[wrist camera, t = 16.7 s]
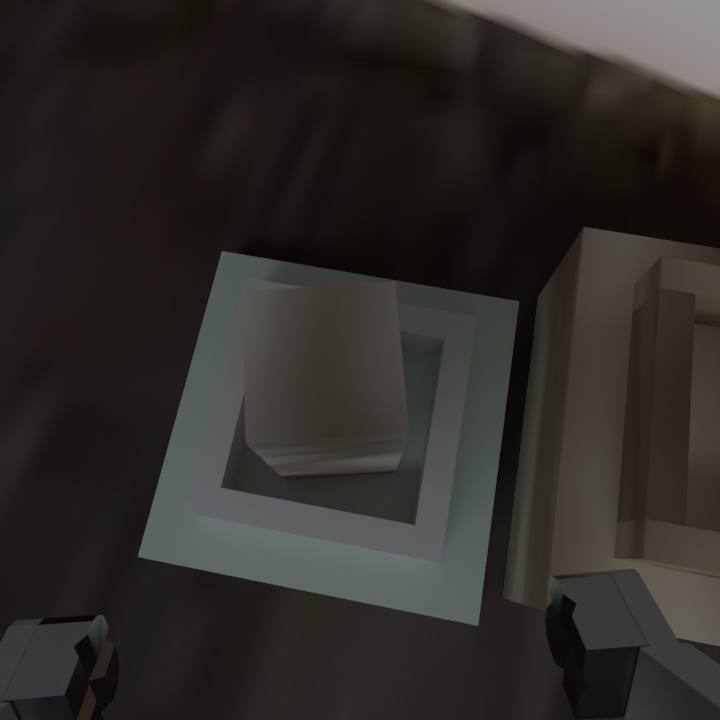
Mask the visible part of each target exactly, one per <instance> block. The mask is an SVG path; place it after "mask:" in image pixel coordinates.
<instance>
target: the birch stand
mask: <svg viewBox="0 0 720 720" xmlns="http://www.w3.org/2000/svg"><path fill="white" fill-rule="evenodd" d="M624 569H635V570H636V571H637V572H639V574H640V576H641V577H642V579H643V581H644V582H645V584H646V586H647V588H648V589H649V591H650V593H651V595H652V596H653V598H654V600H655V602H656V603H657V605H658V607H659V608H660V610H661V612H662V614H663V615H664V617H665V619H666V621H667V622H668V624H669V626H670V628H671V629H672V631H673V633H674V634H675V636H676V638H681V639H686V640H691V641H696V642H701V643H706V644H711V645H716V646H720V249H719V248H713V247H706V246H700V245H694V244H688V243H681V242H675V241H669V240H663V239H657V238H650V237H644V236H638V235H632V234H625V233H619V232H613V231H607V230H600V229H594V228H588V227H584V228H583V229H582V231H581V232H580V234H579V235H578V237H577V238H576V240H575V241H574V243H573V244H572V246H571V247H570V249H569V250H568V252H567V253H566V255H565V257H564V258H563V260H562V261H561V263H560V264H559V266H558V267H557V269H556V270H555V272H554V273H553V275H552V276H551V278H550V279H549V281H548V282H547V284H546V285H545V287H544V289H543V290H542V292H541V293H540V295H539V296H538V301H537V309H536V318H535V326H534V335H533V343H532V352H531V360H530V369H529V377H528V385H527V394H526V402H525V411H524V419H523V428H522V436H521V445H520V453H519V462H518V470H517V478H516V487H515V495H514V504H513V512H512V521H511V529H510V538H509V546H508V555H507V563H506V571H505V580H504V588H503V597H502V598H504V599H507V600H511V601H514V602H517V603H520V604H523V605H527V606H530V607H533V608H536V609H539V610H542V611H546V608H547V607H548V606H549V605H550V604H551V603H552V600H551V597H550V595H549V592H548V587H549V580H550V579H551V577H552V576H557V575H567V574H577V573H587V572H598V571H605V572H606V571H612V570H624Z"/></svg>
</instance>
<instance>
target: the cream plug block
mask: <svg viewBox="0 0 720 720" xmlns="http://www.w3.org/2000/svg"><path fill="white" fill-rule="evenodd" d="M242 296H243V345H244V393H245V441H246V445H247V446H249V447H250V448H251V449H252V450H253V451H254V452H255V453H256V454H257V455H258V456H260V457H261V458H262V459H263V460H264V461H265V462H266V463H267V464H268V465H269V466H270V467H272V468H273V469H274V470H275V471H276V472H277V473H278V474H279V475H280V476H281V477H283V478H284V479H285V480H297V479H311V478H324V477H338V476H351V475H365V474H378V473H392V472H396V470H397V467H398V464H399V461H400V458H401V455H402V452H403V449H404V446H405V443H406V440H407V437H408V434H409V423H408V412H407V402H406V391H405V381H404V370H403V360H402V349H401V339H400V328H399V318H398V307H397V296H396V286H395V281H388V282H374V283H360V284H346V285H332V286H318V287H304V288H290V289H276V290H262V291H248V292H242Z"/></svg>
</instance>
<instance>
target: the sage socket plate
mask: <svg viewBox="0 0 720 720" xmlns="http://www.w3.org/2000/svg"><path fill="white" fill-rule="evenodd" d="M388 281H395V286H396V296H397V307H398V318H399V328H400V339H401V349H402V360H403V370H404V381H405V391H406V402H407V412H408V423H409V434H408V437H407V440H406V443H405V446H404V449H403V452H402V455H401V458H400V461H399V464H398V467H397V470H396V472H392V473H378V474H365V475H351V476H338V477H324V478H311V479H297V480H285V479H284V478H283V477H281V476H280V475H279V474H278V473H277V472H276V471H275V470H274V469H273V468H272V467H270V466H269V465H268V464H267V463H266V462H265V461H264V460H263V459H262V458H261V457H260V456H258V455H257V454H256V453H255V452H254V451H253V450H252V449H251V448H250V447H249V446H247V445H246V441H245V393H244V345H243V296H242V292H248V291H262V290H276V289H290V288H304V287H318V286H332V285H346V284H360V283H374V282H388ZM518 307H519V301H515V300H509V299H503V298H497V297H491V296H485V295H479V294H473V293H467V292H461V291H455V290H449V289H443V288H438V287H432V286H426V285H420V284H414V283H408V282H402V281H396V280H390V279H384V278H378V277H372V276H366V275H360V274H355V273H349V272H343V271H337V270H331V269H325V268H319V267H313V266H307V265H301V264H295V263H289V262H283V261H278V260H272V259H266V258H260V257H254V256H248V255H242V254H236V253H230V252H224V251H222V253H221V257H220V260H219V264H218V268H217V271H216V275H215V279H214V282H213V286H212V289H211V293H210V297H209V300H208V304H207V308H206V311H205V315H204V319H203V322H202V326H201V329H200V333H199V337H198V340H197V344H196V348H195V351H194V355H193V359H192V362H191V366H190V369H189V373H188V377H187V380H186V384H185V388H184V391H183V395H182V398H181V402H180V406H179V409H178V413H177V417H176V420H175V424H174V428H173V431H172V435H171V438H170V442H169V446H168V449H167V453H166V457H165V460H164V464H163V468H162V471H161V475H160V478H159V482H158V486H157V489H156V493H155V497H154V500H153V504H152V508H151V511H150V515H149V518H148V522H147V526H146V529H145V533H144V537H143V540H142V544H141V547H140V551H139V555H138V557H141V558H146V559H151V560H156V561H161V562H166V563H171V564H176V565H181V566H186V567H191V568H195V569H200V570H205V571H210V572H215V573H220V574H225V575H230V576H235V577H240V578H245V579H250V580H255V581H260V582H265V583H270V584H275V585H280V586H284V587H289V588H294V589H299V590H304V591H309V592H314V593H319V594H324V595H329V596H334V597H339V598H344V599H349V600H354V601H359V602H364V603H369V604H373V605H378V606H383V607H388V608H393V609H398V610H403V611H408V612H413V613H418V614H423V615H428V616H433V617H438V618H443V619H448V620H453V621H458V622H462V623H467V624H472V625H477V626H478V622H479V615H480V607H481V599H482V591H483V583H484V575H485V567H486V559H487V552H488V544H489V536H490V528H491V520H492V512H493V504H494V496H495V489H496V481H497V473H498V465H499V457H500V449H501V441H502V433H503V426H504V418H505V410H506V402H507V394H508V386H509V378H510V370H511V363H512V355H513V347H514V339H515V331H516V323H517V315H518Z"/></svg>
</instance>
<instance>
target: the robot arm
mask: <svg viewBox="0 0 720 720" xmlns="http://www.w3.org/2000/svg"><path fill="white" fill-rule="evenodd" d="M548 592H549V595H550V597H551V600H552V603H551V604H550V605H549V606H548V607H547V608H546V618H545V624H546V633H547V639H548V643H549V647H550V651H551V653H552V656H553V659H554V662H555V663H556V664H558V665H559V666H560V667H561V668H562V669H564V677H563V687H564V690H565V693H566V695H567V698H568V701H569V704H570V706H571V709H572V712H573V714H574V717H575V720H586V719H602V718H619V717H625V719H624V720H720V665H719V664H718V663H716V662H715V661H713V660H712V659H710V658H709V657H708V656H706V655H705V654H703V653H702V652H700V651H699V650H697V649H696V648H694V647H693V646H692V645H690V644H689V643H681V644H680V643H679V641H678V640H677V638H676V636H675V634H674V633H673V631H672V629H671V628H670V626H669V624H668V622H667V621H666V619H665V617H664V615H663V614H662V612H661V610H660V608H659V607H658V605H657V603H656V602H655V600H654V598H653V596H652V595H651V593H650V591H649V589H648V588H647V586H646V584H645V582H644V581H643V579H642V577H641V576H640V574H639V572H637V571H636V570H635V569H624V570H612V571H606V572H605V571H598V572H587V573H577V574H567V575H557V576H552V577H551V579H550V580H549V587H548ZM108 629H109V628H108V625H107V623H106V621H105V618H104V616H102V615H92V616H74V617H57V618H44V619H30V620H16V621H15V622H14V623H13V624H12V625H11V626H10V627H9V628H8V629H7V631H6V633H5V635H4V637H3V639H2V641H1V643H0V720H104V719H103V716H102V714H101V712H102V711H103V710H104V709H105V708H106V707H107V706H108V705H109V704H110V703H111V702H112V701H113V699H114V696H115V692H116V689H117V685H118V676H119V659H118V653H117V650H116V647H115V645H114V644H113V643H111V642H110V641H108V640H107V639H105V638H106V635H107V632H108Z"/></svg>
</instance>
